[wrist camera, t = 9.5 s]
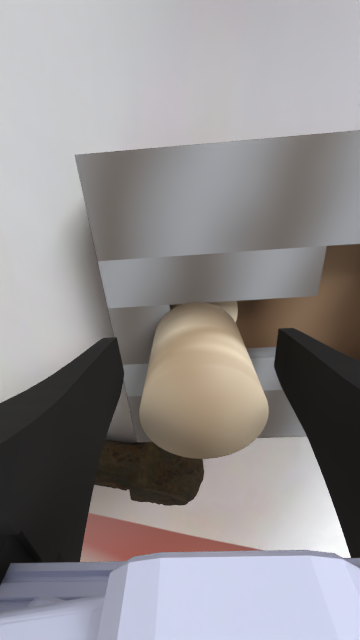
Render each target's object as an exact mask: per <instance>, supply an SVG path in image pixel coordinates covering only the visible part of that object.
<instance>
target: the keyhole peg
mask: <svg viewBox="0 0 360 640" xmlns="http://www.w3.org/2000/svg"><path fill="white" fill-rule="evenodd" d="M237 314H238V306H237V301H224V302H207V303H204V302H192V303H186V304H173V305H171V310H170V311H169V312H168V313H167V314H166V315H165V316H164V317H163V318H162V319H161V320H160V322H159V324H158V325H157V328H156V331H155V336H154V340H153V345H152V350H151V355H150V360H149V365H148V370H147V375H146V380H145V384H144V389H143V394H142V399H141V404H140V409H139V417H140V423H141V425H142V428H143V430H144V432H145V433H146V435H147V436H148V437H149V438H150V439H151V440H152V441H153V442H154V443H155V444H156V445H158V446H159V447H161V448H162V449H164V450H166V451H168V452H170V453H173V454H175V455H179V456H183V457H188V458H196V459H208V458H217V457H222V456H226V455H229V454H232V453H235V452H237V451H239V450H241V449H243V448H245V447H246V446H248V445H249V444H250V443H252V442H253V441H254V440H255V439H256V438H257V437H258V436H259V435H260V434H261V432H262V431H263V429H264V427H265V425H266V423H267V420H268V414H269V407H268V402H267V399H266V396H265V394H264V391H263V389H262V386H261V384H260V381H259V379H258V377H257V374H256V372H255V369H254V367H253V364H252V362H251V359H250V357H249V354H248V352H247V349H246V347H245V344H244V342H243V339H242V337H241V334H240V332H239V330H238V327H237V325H236V320H237Z"/></svg>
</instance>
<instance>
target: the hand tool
mask: <svg viewBox="0 0 360 640" xmlns="http://www.w3.org/2000/svg"><path fill="white" fill-rule="evenodd" d="M203 475H204V469H203V460H202V459H196V458H188V457H183V456H179V455H175V454H173V453H170V452H168V451H166V450H164V449H162V448H161V447H159V446H158V445H156V444H155V443H154V442H143V443H142V444H126V443H118V442H114V441H106V440H105V441H104V444H103V447H102V451H101V456H100V460H99V464H98V468H97V473H96V478H95V482H94V485H100V486H106V487H112V488H119V489H121V490H127V489H129V490H130V496H131V500H133V501H139V502H151V503H157V504H163V505H170V506H171V505H186V504H187V503H188V502H189V501H191V500H193V499H194V497H195V496H196V495H197V492H198V490H199V487H200V484H201V482H202V481H203Z"/></svg>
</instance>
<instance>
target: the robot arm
mask: <svg viewBox="0 0 360 640" xmlns="http://www.w3.org/2000/svg"><path fill="white" fill-rule="evenodd" d="M274 368H275V371H276V374H277V377H278V380H279V383H280V385H281V387H282V389H283V391H284V393H285V395H286V397H287V399H288V401H289V403H290V405H291V407H292V408H293V410H294V412H295V414H296V416H297V418H298V420H299V422H300V423H301V425H302V427H303V429H304V431H305V433H306V435H307V437H308V440H309V442H310V444H311V447H312V449H313V452H314V454H315V457H316V459H317V462H318V464H319V467H320V469H321V472H322V475H323V477H324V480H325V482H326V485H327V488H328V490H329V493H330V496H331V499H332V502H333V505H334V507H335V510H336V513H337V516H338V519H339V522H340V525H341V528H342V531H343V534H344V537H345V540H346V543H347V546H348V549H349V553H350V556H351V558H342V557H340V556H338V555H336V554H335V553H327V552H318V551H309V550H279V551H225V552H224V551H222V552H221V551H220V552H162V553H155V554H148V555H142V556H135V557H133V558H131V559H129V560H127V561H125V562H80V557H81V551H82V545H83V539H84V533H85V528H86V522H87V517H88V512H89V507H90V501H91V496H92V492H93V487H94V482H95V478H96V473H97V468H98V464H99V460H100V456H101V451H102V447H103V444H104V441H105V437H106V435H107V432H108V429H109V426H110V423H111V420H112V417H113V414H114V412H115V409H116V406H117V403H118V400H119V397H120V394H121V389H122V385H123V379H124V369H123V364H122V359H121V355H120V350H119V345H118V341H117V337H113V338H103V339H101V340H100V341H98V342H97V343H95V344H94V345H93V346H91V347H90V348H89V349H88V350H86V351H85V352H84V353H82V354H81V355H80V356H78V357H77V358H76V359H74V360H73V361H72V362H70V363H69V364H67V365H66V366H64V367H63V368H61V369H60V370H59V371H57V372H56V373H54V374H53V375H51V376H50V377H48V378H47V379H45V380H43V381H42V382H40V383H38V384H36V385H35V386H33V387H31V388H30V389H28V390H26V391H24V392H22V393H20V394H18V395H16V396H14V397H12V398H10V399H8V400H6V401H4V402H2V403H0V640H360V361H358V360H356V359H354V358H351V357H349V356H347V355H345V354H343V353H341V352H339V351H337V350H335V349H333V348H331V347H329V346H327V345H325V344H323V343H322V342H320V341H318V340H316V339H314V338H312V337H310V336H309V335H307V334H305V333H303V332H301V331H299V330H297V329H294V328H279V329H278V336H277V345H276V353H275V361H274Z"/></svg>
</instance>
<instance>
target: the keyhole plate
mask: <svg viewBox="0 0 360 640" xmlns="http://www.w3.org/2000/svg"><path fill="white" fill-rule="evenodd" d="M75 159H76V163H77V168H78V173H79V177H80V182H81V186H82V191H83V196H84V200H85V205H86V209H87V214H88V219H89V223H90V228H91V233H92V237H93V242H94V246H95V251H96V256H97V260H98V265H99V269H100V274H101V279H102V283H103V288H104V292H105V297H106V302H107V306H108V311H109V315H110V320H111V325H112V329H113V334H114V337H117V341H118V345H119V350H120V355H121V359H122V364H123V369H124V379H123V380H124V384H125V389H126V394H127V398H128V403H129V407H130V412H131V417H132V421H133V426H134V430H135V435H136V440H137V442H153V441H152V440H151V439H150V438H149V437H148V436H147V435H146V433H145V432H144V430H143V428H142V425H141V423H140V417H139V409H140V404H141V399H142V394H143V389H144V384H145V380H146V375H147V370H148V365H149V360H150V355H151V350H152V345H153V340H154V336H155V331H156V328H157V325H158V324H159V322H160V320H161V319H162V318H163V317H164V316H165V315H166V314H167V313H168V312H169V311H170V310H171V305H173V304H186V303H192V302H204V303H207V302H224V301H237V306H238V314H237V320H236V325H237V327H238V330H239V332H240V334H241V337H242V339H243V342H244V344H245V347H246V349H247V352H248V354H249V357H250V359H251V362H252V364H253V367H254V369H255V372H256V374H257V377H258V379H259V381H260V384H261V386H262V389H263V391H264V394H265V396H266V399H267V402H268V407H269V414H268V420H267V423H266V425H265V427H264V429H263V431H262V432H261V434H260V435H259V436H258V437H257V438H271V437H299V436H307V435H306V433H305V431H304V429H303V427H302V425H301V423H300V422H299V420H298V418H297V416H296V414H295V412H294V410H293V408H292V407H291V405H290V403H289V401H288V399H287V397H286V395H285V393H284V391H283V389H282V387H281V385H280V383H279V380H278V377H277V374H276V371H275V368H274V361H275V353H276V345H277V336H278V329H279V328H294V329H297V330H299V331H301V332H303V333H305V334H307V335H309V336H310V337H312V338H314V339H316V340H318V341H320V342H322V343H323V344H325V345H327V346H329V347H331V348H333V349H335V350H337V351H339V352H341V353H343V354H345V355H347V356H349V357H351V358H354V359H356V360H358V361H360V130H358V131H347V132H335V133H324V134H312V135H300V136H289V137H277V138H266V139H254V140H242V141H231V142H219V143H207V144H196V145H184V146H173V147H161V148H149V149H138V150H126V151H115V152H103V153H91V154H80V155H75Z"/></svg>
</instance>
